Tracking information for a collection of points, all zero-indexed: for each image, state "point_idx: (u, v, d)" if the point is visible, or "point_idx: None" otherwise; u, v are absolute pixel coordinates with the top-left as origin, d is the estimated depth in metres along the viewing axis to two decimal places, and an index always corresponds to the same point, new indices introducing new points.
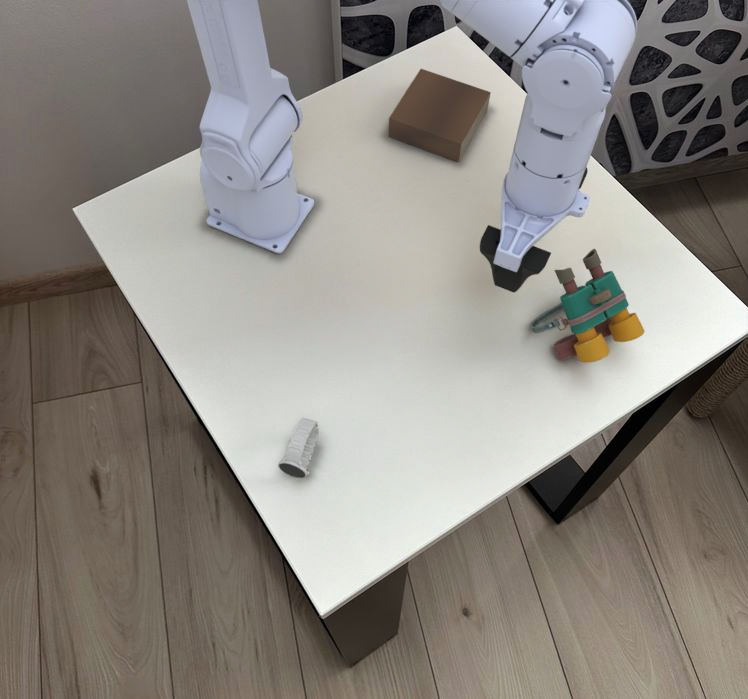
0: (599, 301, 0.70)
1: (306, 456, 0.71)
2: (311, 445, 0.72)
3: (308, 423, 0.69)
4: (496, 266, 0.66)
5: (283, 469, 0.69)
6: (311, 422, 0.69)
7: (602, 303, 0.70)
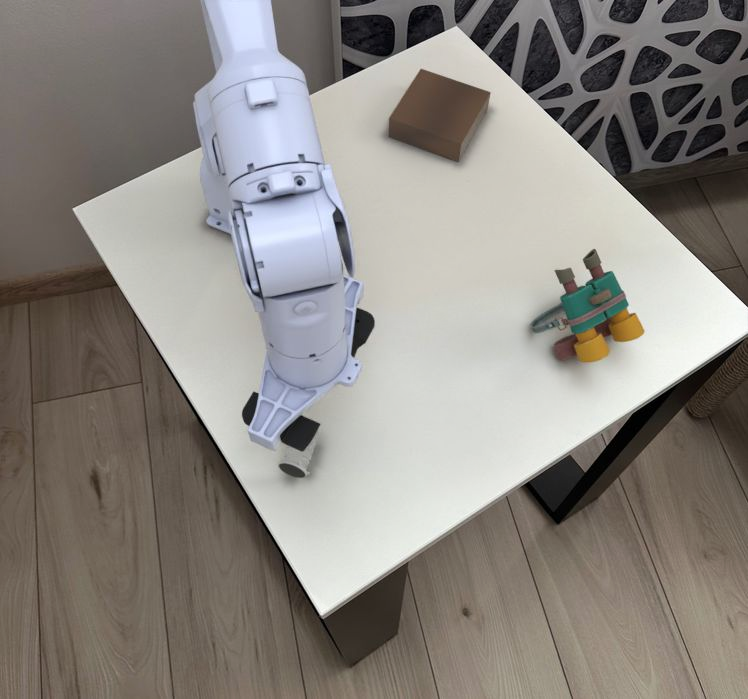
0: (599, 301, 0.70)
1: (306, 456, 0.71)
2: (311, 445, 0.72)
3: None
4: None
5: (283, 469, 0.69)
6: None
7: (602, 303, 0.70)
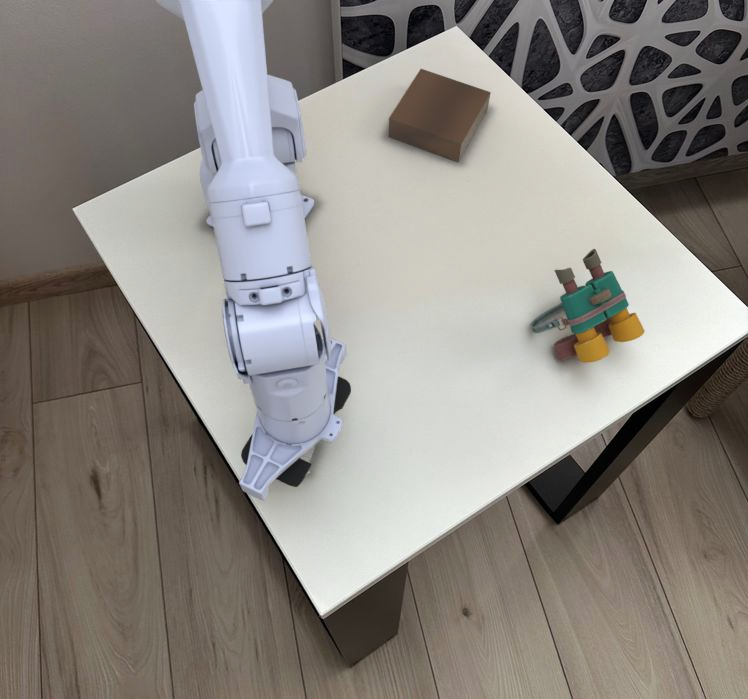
0: (599, 301, 0.70)
1: (306, 455, 0.71)
2: None
3: None
4: None
5: None
6: None
7: (602, 303, 0.70)
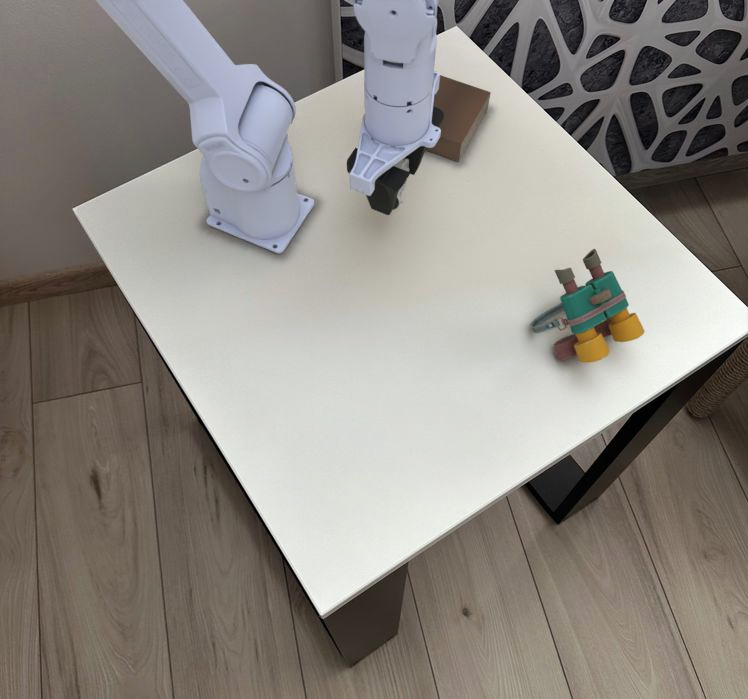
0: (599, 301, 0.70)
1: None
2: (400, 189, 0.77)
3: None
4: None
5: None
6: (404, 158, 0.75)
7: (602, 303, 0.70)
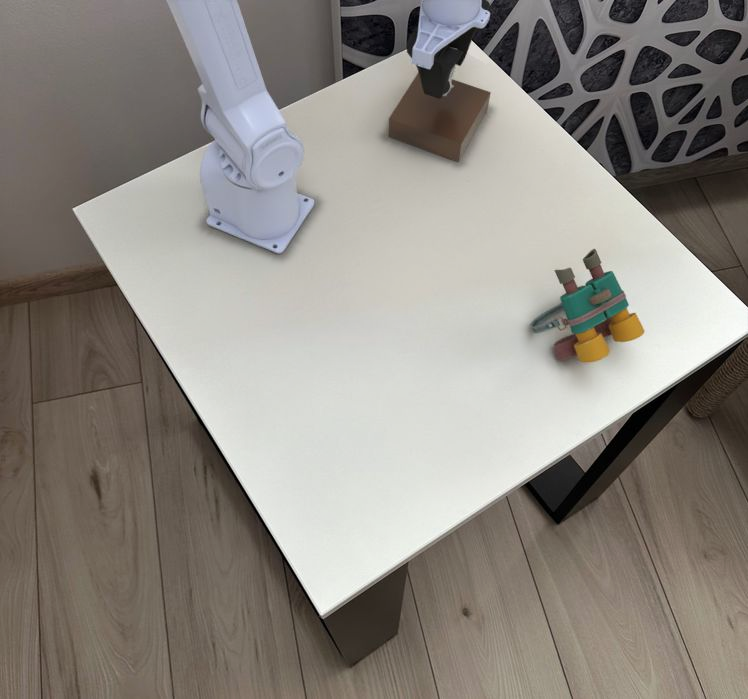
0: (599, 301, 0.70)
1: None
2: (449, 79, 0.87)
3: None
4: (422, 71, 0.81)
5: None
6: None
7: (602, 303, 0.70)
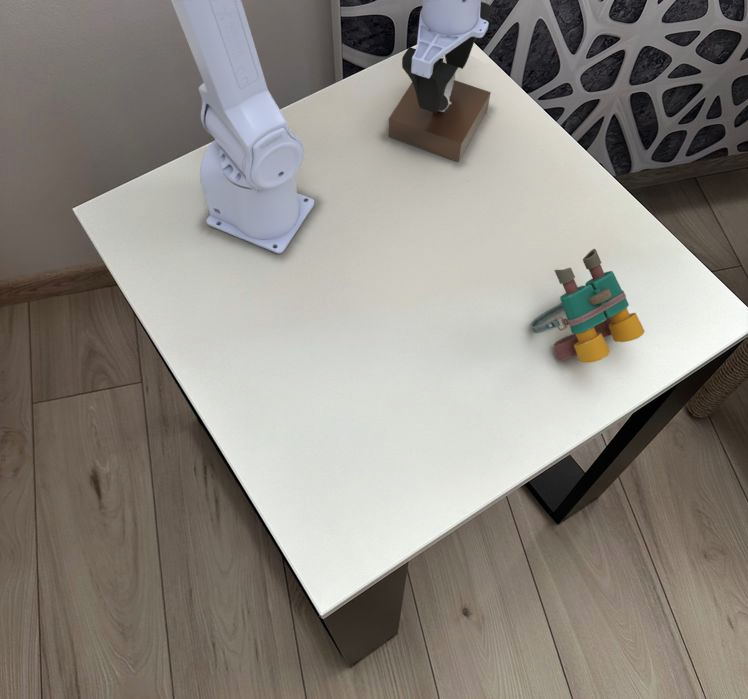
0: (599, 301, 0.70)
1: None
2: (447, 95, 0.89)
3: None
4: (418, 86, 0.82)
5: None
6: None
7: (602, 303, 0.70)
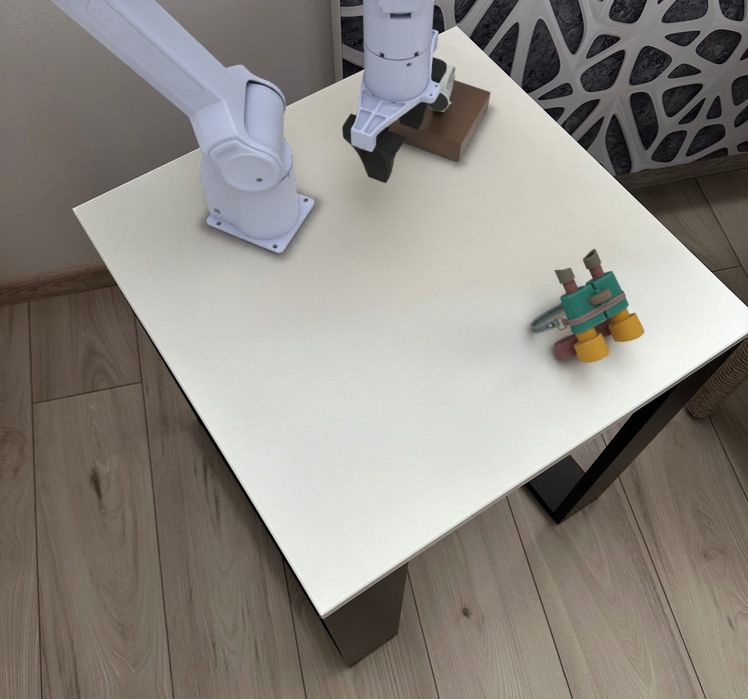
0: (599, 301, 0.70)
1: None
2: (447, 95, 0.89)
3: (449, 65, 0.86)
4: (363, 155, 0.72)
5: None
6: (451, 65, 0.86)
7: (602, 303, 0.70)
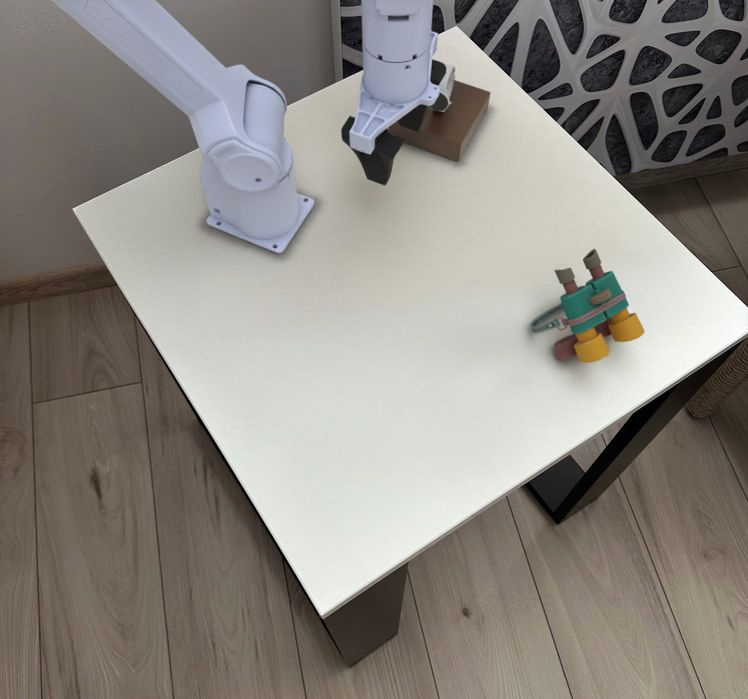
0: (599, 301, 0.70)
1: None
2: (447, 95, 0.89)
3: (449, 65, 0.86)
4: (363, 157, 0.72)
5: None
6: (451, 65, 0.86)
7: (602, 303, 0.70)
